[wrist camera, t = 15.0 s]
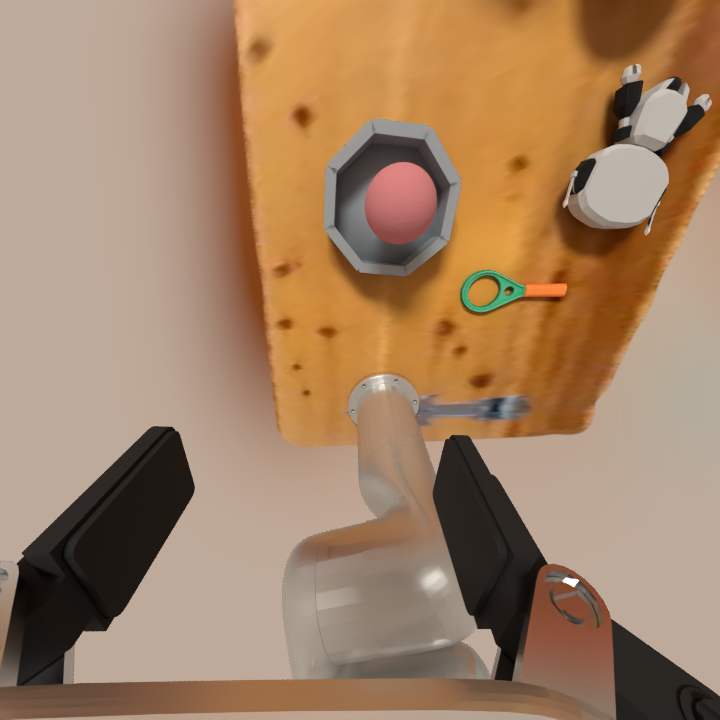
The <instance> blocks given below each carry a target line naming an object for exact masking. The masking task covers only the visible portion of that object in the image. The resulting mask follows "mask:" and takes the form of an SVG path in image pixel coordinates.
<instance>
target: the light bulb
mask: <svg viewBox="0 0 720 720" xmlns="http://www.w3.org/2000/svg"><path fill="white" fill-rule="evenodd" d="M436 206H437V196H436V189H435V186H434V183H433V181H432V179H431V178H430V176H429V175H428V173H427V172H426V171H425V170H424V169H422V168H421V167H419V166H418V165H415V164H413V163H409V162H399V163H394V164H391V165H389V166H387V167H385V168H384V169H382V170H381V171H380V172H379V173H378V174H377V175H376V176H375V177H374V179H373V180H372V182H371V183H370V185H369V187H368V190H367V193H366V197H365V215H366V219H367V222H368V224H369V226H370V228H371V230H372V231H373V232H374V234H375V235H376V236H377V237H379V238H380V239H381V240H383V241H385V242H388V243H391V244H405V243H409V242H411V241H413V240H415V239H417V238H418V237H420V236H421V235H422V234H423V233H424V232H425V231H426V230H427V228H428V227H429V225H430V224H431V222H432V220H433V218H434V215H435V211H436Z"/></svg>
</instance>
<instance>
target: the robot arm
mask: <svg viewBox="0 0 720 720" xmlns="http://www.w3.org/2000/svg"><path fill="white" fill-rule="evenodd" d="M395 379H396V380H395ZM363 384H365V385H363ZM418 409H419V397H418V394H417V391H416V389H415V388H414V386H413V385H412V384H411V383H410V382H409V381H408V380H407V379H405V378H403V377H401V376H399V375H396V374H392V373H378V374H374V375H371V376H369V377H366V378H364V379H363V380H361V381H360V382H359V383H358V384H357V385H356V386H355V387H354V388H353V390H352V391H351V394H350V396H349V401H348V411H349V414H350V417H351V419H352V420H353V422H354V423H355V424H356V425H357V432H358V468H359V469H358V471H359V487H360V491H361V495H362V497H363V499H364V501H365V503H366V505H367V506H368V507H369V509H370V510H371V511H372V512H373V513H374V515H375V516H376V517H377V519H373V520H370V521H367V522H365V523H361V524H356V525H352V526H348V527H343V528H339V529H335V530H330V531H326V532H322V533H319V534H315V535H312V536H310V537H307V538H306V539H304V540H302V541H301V542H300V543H298V544H297V545H296V547H295V548H294V549H293V551H292V552H291V554H290V556H289V558H288V560H287V564H286V567H285V571H284V577H283V586H282V607H283V620H284V629H285V636H286V642H287V649H288V654H289V661H290V666H291V672H292V678H293V680H239V681H238V680H236V681H235V680H233V681H173V682H126V683H125V682H124V683H79V684H73V682H74V648H75V642H76V641H77V639H78V638H79V636H80V635H81V633H82V632H83V631H106V630H107V629H108V627H109V625H110V624H111V622H112V620H113V619H114V617H117V616H118V615H120V614H121V612H123V610H124V609H125V607H126V606H127V604H128V603H129V601H130V599H131V597H132V596H133V594H134V593H135V591H136V589H137V588H138V586H139V584H140V583H141V581H142V579H143V578H144V576H145V574H146V573H147V571H148V569H149V567H150V566H151V564H152V563H153V561H154V559H155V558H156V556H157V554H158V553H159V551H160V549H161V548H162V546H163V544H164V543H165V541H166V539H167V538H168V536H169V534H170V533H171V531H172V529H173V528H174V526H175V524H176V523H177V521H178V519H179V518H180V516H181V514H182V513H183V511H184V510H185V508H186V506H187V504H188V503H189V501H190V500H191V498H192V496H193V494H194V489H195V486H194V482H193V478H192V475H191V471H190V468H189V465H188V461H187V458H186V454H185V451H184V447H183V444H182V440H181V437H180V434H179V432H177V431H175V429H174V428H173V427H159V426H154V427H151V428H150V429H148V430H147V432H145V433H144V434H143V435H142V436H141V437H140V438H139V439H138V440H137V441H136V442H135V443H134V444H133V445H132V446H131V447H130V448H129V449H128V450H127V451H126V452H125V453H124V454H123V455H122V456H121V457H120V458H119V459H118V460H117V461H116V462H115V463H114V464H113V465H112V466H110V468H108V469H107V470H106V471H105V472H104V473H103V474H102V475H101V476H100V477H99V478H98V479H97V480H96V481H95V482H94V483H93V484H92V485H91V486H90V487H89V488H88V489H87V490H86V491H85V492H84V493H83V494H82V495H81V496H80V497H79V498H78V499H77V500H76V501H75V502H74V503H72V504H71V505H70V507H68V508H67V509H66V510H65V511H64V512H63V513H62V514H61V515H60V516H59V517H58V518H57V519H56V520H55V521H54V522H53V523H52V524H51V525H50V526H49V527H48V528H47V529H46V530H45V531H44V532H43V533H42V534H41V535H40V536H39V537H38V538H37V539H36V540H35V541H33V542H32V543H31V545H29V546H28V547H27V548H26V550H24V551H23V552H22V554H23V555H24V557H23V558H22V559H21V560H20V561H19V562H18V563H17V564H15V563H14V562H12V561H0V720H720V696H718V695H717V694H716V693H715V692H713V691H712V690H710V689H709V688H708V687H706V686H705V685H703V684H702V683H701V682H699V681H698V680H697V679H695V678H694V677H692V676H691V675H690V674H688V673H686V672H685V671H684V670H682V669H681V668H680V667H678V666H677V665H675V664H674V663H673V662H671V661H670V660H668V659H667V658H666V657H664V656H663V655H661V654H660V653H659V652H657V651H656V650H654V649H653V648H652V647H650V646H649V645H647V644H646V643H644V642H643V641H642V640H640V639H639V638H637V637H636V636H635V635H633V634H632V633H630V632H629V631H628V630H626V629H625V628H623V627H622V626H621V625H619V624H618V623H616V622H615V621H614V620H612V619H611V618H610V613H609V611H608V609H607V607H606V605H605V603H604V601H603V599H602V598H601V597H600V595H599V594H598V593H597V591H596V590H595V589H594V588H593V587H592V586H591V585H590V584H589V583H588V582H587V581H586V580H585V579H584V578H583V577H581V576H580V575H578V574H577V573H575V572H574V571H572V570H570V569H568V568H566V567H564V566H560V565H556V564H547V562H546V560H545V559H544V557H543V555H542V553H541V552H540V550H539V548H538V547H537V545H536V543H535V541H534V540H533V538H532V536H531V535H530V533H529V531H528V530H527V528H526V526H525V524H524V523H523V521H522V519H521V518H520V516H519V514H518V513H517V511H516V509H515V507H514V506H513V504H512V502H511V501H510V499H509V497H508V496H507V494H506V492H505V490H504V489H503V487H502V485H501V483H500V482H499V480H498V479H497V478H496V477H495V476H494V475H491V474H490V472H489V470H488V468H487V466H486V465H485V463H484V461H483V459H482V458H481V456H480V454H479V453H478V451H477V449H476V447H475V445H474V444H473V442H472V440H471V438H470V437H469V436H466V435H451V437H450V439H446V440H445V444H444V447H443V451H442V455H441V460H440V463H439V467H438V471H437V475H436V474H435V472H434V469H433V465H432V463H431V460H430V457H429V454H428V451H427V449H426V446H425V442H424V440H423V437H422V434H421V431H420V428H419V425H418V422H417V419H416V415H417V413H418ZM476 629H491V631H492V634H493V637H494V640H495V642H496V645H498V649H497V654H496V658H495V662H494V666H493V670H492V674H491V675H490V673H489V671H488V669H487V667H486V666H485V664H484V662H483V660H482V659H481V658H480V656H479V655H478V654H477V653H476V651H475V650H473V649H472V648H471V647H470V646H469V645H467V644H465V643H463V642H461V641H462V640H464V639H466V638H467V637H468V636H470V635H471V634H472V633H473V632H474V631H475V630H476Z"/></svg>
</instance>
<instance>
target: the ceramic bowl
mask: <svg viewBox="0 0 720 720" xmlns="http://www.w3.org/2000/svg"><path fill="white" fill-rule="evenodd" d="M429 127H430V125H422V124H415V123H407V122H400V121H392V120H384V119H377V118H373V121H372V122H371V120H369V121H368V122H367V123H366V124H365V125H364V126H363V127H362V128H361V129H360V130H359V131H358V132H357V133H356V134H355V135H354V136H353V137H352V138H351V139H350V140H349V141H348V142H347V143H346V145H345V146H344V147H343V148H342V149H341V150H340V151H339V152H338V153H337V154H336V155H335V156H334V157H333V158H332V159H331V160H330V161H329V162H328V163H327V165H328V167H326V173H325V203H324V228H327V229H326V230H325V232H326V233H327V234H328V236H329V237H330V238H331V239H332V241H333V242H334V243H335V244H336V246H337V247H338V248H339V249H340V251H341V252H342V253H343V254H344V256H345V257H346V258H347V259H348V261H349V262H350V263H351V264H352V266H353V267H354V268H355V269H356V271H357V270H358V269H359V272H362V273H372V274H383V275H393V276H404V277H405V276H406V275H410V274H411V273H412V272H413V271H415V270H416V269H417V268H418V267H420V266H421V265H422V264H423V263H424V262H426V261H427V260H428V259H429V258H431V257H432V256H433V255H434V254H435V253H437V252H438V251H439V250H440V249H442V248H443V247H444V246H445V245H447V244H448V243H447V242H446V241H449V240H450V236H451V231H452V226H453V222H454V217H455V212H456V208H457V203H458V199H459V194H460V189H461V185H462V183H458V182H459V181H461V178H460V176H459V175H458V173H457V171H456V169H455V167H454V166H453V164H452V162H451V160H450V158H449V157H448V155H447V153H446V151H445V149H444V147H443V146H442V144H441V142H440V140H439V138H438V137H437V135H436V133H435V131H434V129H433V128H431V129H430V130H429ZM399 162H409V163H413V164H415V165H418V166H419V167H421V168H422V169H424V170H425V171H426V172H427V173H428V175H429V176H430V178H431V179H432V181H433V183H434V186H435V189H436V196H437V206H436V211H435V215H434V218H433V220H432V222H431V224H430V225H429V227H428V228H427V230H426V231H425V232H424V233H423V234H422V235H421V236H420V237H418V238H417V239H415V240H413V241H411V242H409V243H405V244H391V243H388V242H385V241H383V240H381V239H380V238H379V237H377V236H376V235H375V234H374V232H373V231H372V230H371V228H370V226H369V224H368V222H367V219H366V215H365V197H366V193H367V190H368V187H369V185H370V183H371V182H372V180H373V179H374V177H375V176H376V175H377V174H378V173H379V172H380V171H381V170H382V169H384V168H385V167H387V166H389V165H391V164H394V163H399Z"/></svg>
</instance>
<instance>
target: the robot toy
mask: <svg viewBox="0 0 720 720" xmlns="http://www.w3.org/2000/svg"><path fill="white" fill-rule="evenodd" d="M640 74H641V65H639V64H636V65H634V66H633V65H631V66H628V67H627V68H626V69H625V70H624V71H623V73H622V76H621V79H620V81H621V84H622V86H623V87H621V88H620V89H618V90H617V91H616V93H615V100H614V108H613V111H614V113H615V115H616V116H617V118H618V119H619V127H618V129H617V130H616V131H614V132H613V138H612V143H615V145H613V146H610V147H608V148H605V149H603V150H600V151H598V152H596V153H593V154H591V155H590V156H589V157H588V158H587V159H586V160H585V161H582V162H581V163H580V164H579V166H578V167H577V168H576V169H575V171H574V172H572V173H571V175H570V179H571V180H570V182H569V186H568V189H567V194H566V198H565V201H564V202H563V207H564V208H565V207H566V205H567V206H568V208H569V211H570V213H571V214H572V215H573V216H574V217H575V218H576V219H578V220H579V221H581V222H582V223H584V224H586V225H588V226H589V227H592V228H600V229H618V228H628V227H632V226H635V225H638V224H640V223H641V222H642V221H644V220H645V219H646V218H647V217H649V216H650V218H649V221H648V224H647V227H646V229H645V231H644V234H645V235H647V234H648V233H649V232H650V229H651V228H650V226H651V223H652V220H653V217H654V214H655V211H656V208H657V207H658V206H659V204H660V200H661V198H662V196H663V194H664V193H665V191H666V186H667V185H668V183H669V177H668V170H667V167H666V165H665V163H664V162H663V161H662V160H661V159H660V158H659V156H661V155H662V154H663V153H664V152H665V151H666V150H667V149H668V148H669V147H670V144H669V142H670V141H671V140H672V139H673V138H676V137H678V136H680V135H682V134H684V133H685V132H687V131H689V130H690V129H691V128H692V127H693V126H694V125H695V124H696V123H697V122H698V121H699V120H700V119H702V118H703V117H704V116H705V112H706V111H707V110H708V108H709V107H710V106H711V104H712V102H711V99H709V100H707V99H708V97H709V95H708V94H704V95H701V96H700V97H699V98H697V99H696V100H695V101H694V102H693V104H692V106H689V107H688V108H687V105H686V101H687V98H688V94H689V90H690V89H689V87H688V85H687V83H684V84H682V85H681V79H680V78H678V77H671V78H668V79H667V80H665V81H664V82H662V83H660V84H658V85H656V86H655V87H653V88H651V89H649V90H647V91H645V92H644V93H643V95H642V96H641V93H642V87H643V81H637V80H638V78H639V76H640ZM706 100H707V101H706Z"/></svg>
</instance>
